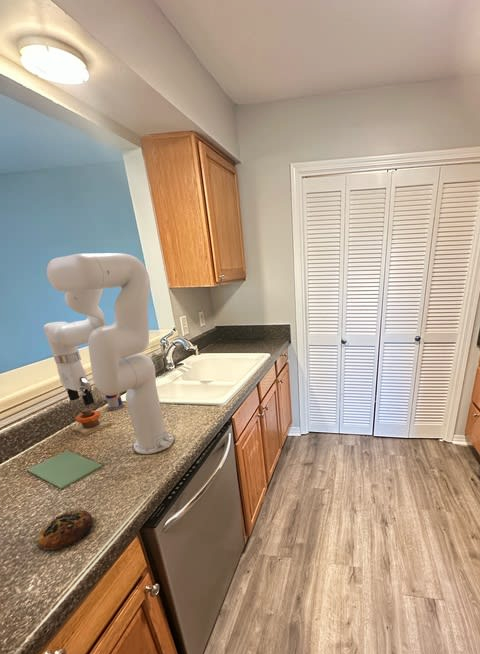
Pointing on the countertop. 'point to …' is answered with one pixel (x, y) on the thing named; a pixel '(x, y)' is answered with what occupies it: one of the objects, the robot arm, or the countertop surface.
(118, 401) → the energy drink
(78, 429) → the post stand
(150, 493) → the countertop surface
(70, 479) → the mat
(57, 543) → the bread roll
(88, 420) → the ring
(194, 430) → the countertop surface
